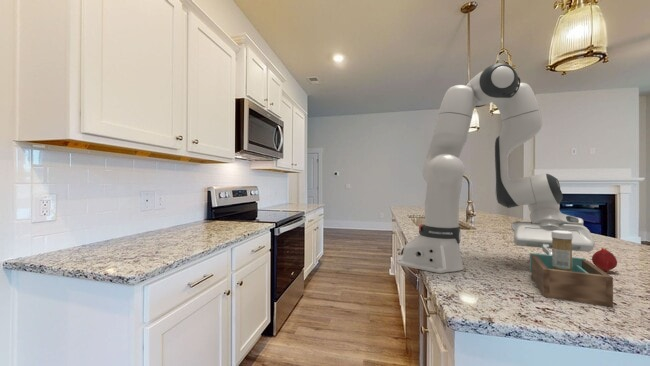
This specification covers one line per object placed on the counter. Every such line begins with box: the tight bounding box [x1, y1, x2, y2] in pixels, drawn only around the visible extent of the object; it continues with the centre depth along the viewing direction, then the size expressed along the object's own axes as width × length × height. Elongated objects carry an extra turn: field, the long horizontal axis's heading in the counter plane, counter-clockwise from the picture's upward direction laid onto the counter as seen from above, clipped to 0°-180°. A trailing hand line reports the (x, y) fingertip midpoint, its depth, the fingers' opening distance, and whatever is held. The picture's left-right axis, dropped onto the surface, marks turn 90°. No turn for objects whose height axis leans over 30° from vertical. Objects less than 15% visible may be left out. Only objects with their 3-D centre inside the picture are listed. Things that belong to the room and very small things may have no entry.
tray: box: [529, 252, 588, 273], centre depth 78 cm, size 13×14×6 cm
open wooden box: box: [531, 255, 614, 308], centre depth 75 cm, size 13×16×7 cm
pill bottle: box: [551, 230, 573, 271], centre depth 78 cm, size 5×5×14 cm
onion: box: [591, 246, 618, 273], centre depth 90 cm, size 6×6×8 cm
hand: (555, 258), depth 84 cm, fingers closed, pressing on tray
